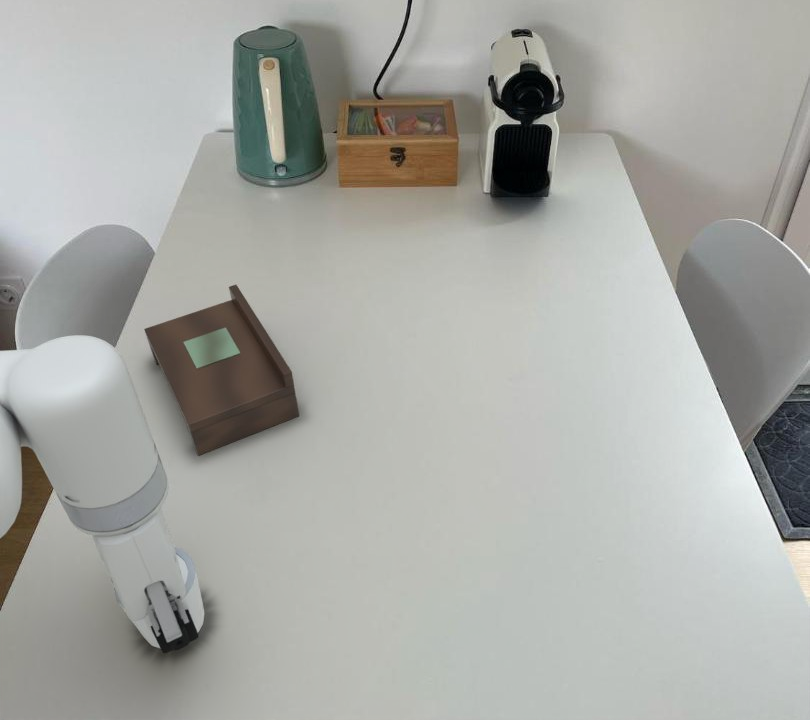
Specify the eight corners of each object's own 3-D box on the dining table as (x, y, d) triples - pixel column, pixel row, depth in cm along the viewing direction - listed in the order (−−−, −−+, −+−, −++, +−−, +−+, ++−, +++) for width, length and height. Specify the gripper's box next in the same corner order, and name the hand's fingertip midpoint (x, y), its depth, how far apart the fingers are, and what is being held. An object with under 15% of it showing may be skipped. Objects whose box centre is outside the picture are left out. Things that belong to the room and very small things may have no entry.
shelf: (198, 456, 88) (184, 411, 84) (154, 359, 100) (139, 315, 95) (299, 416, 92) (291, 371, 88) (245, 327, 104) (236, 284, 99)
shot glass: (226, 607, 75) (212, 564, 70) (175, 669, 70) (156, 628, 66) (171, 575, 77) (153, 532, 73) (118, 633, 73) (96, 591, 68)
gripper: (41, 427, 65) (104, 554, 77) (87, 596, 54) (153, 714, 66) (134, 394, 67) (181, 522, 79) (196, 548, 56) (241, 670, 68)
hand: (168, 608), depth 72 cm, fingers closed on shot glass, 6 cm apart
